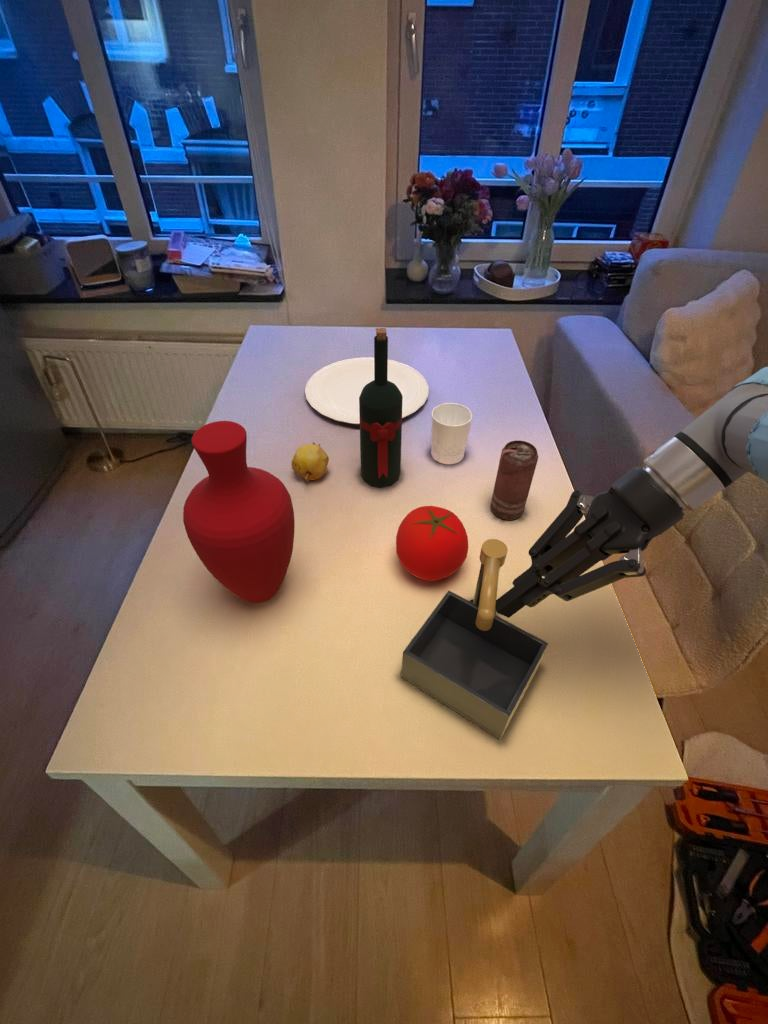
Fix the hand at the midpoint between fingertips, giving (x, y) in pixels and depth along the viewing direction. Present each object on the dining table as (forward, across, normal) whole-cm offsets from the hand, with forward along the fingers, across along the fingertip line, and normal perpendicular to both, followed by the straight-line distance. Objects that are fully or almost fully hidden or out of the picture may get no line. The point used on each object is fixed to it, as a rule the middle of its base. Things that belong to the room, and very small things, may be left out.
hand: (500, 610), depth 66 cm
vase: (+30, +22, +12) cm, 39 cm away
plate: (+8, +73, -10) cm, 74 cm away
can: (-2, +28, -20) cm, 35 cm away
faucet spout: (0, +4, 0) cm, 4 cm away
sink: (+11, -1, -7) cm, 13 cm away
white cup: (+1, +46, -17) cm, 49 cm away
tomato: (+10, +20, -8) cm, 23 cm away
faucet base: (+7, +8, -10) cm, 15 cm away
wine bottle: (+12, +42, -6) cm, 44 cm away
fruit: (+21, +47, +3) cm, 52 cm away
